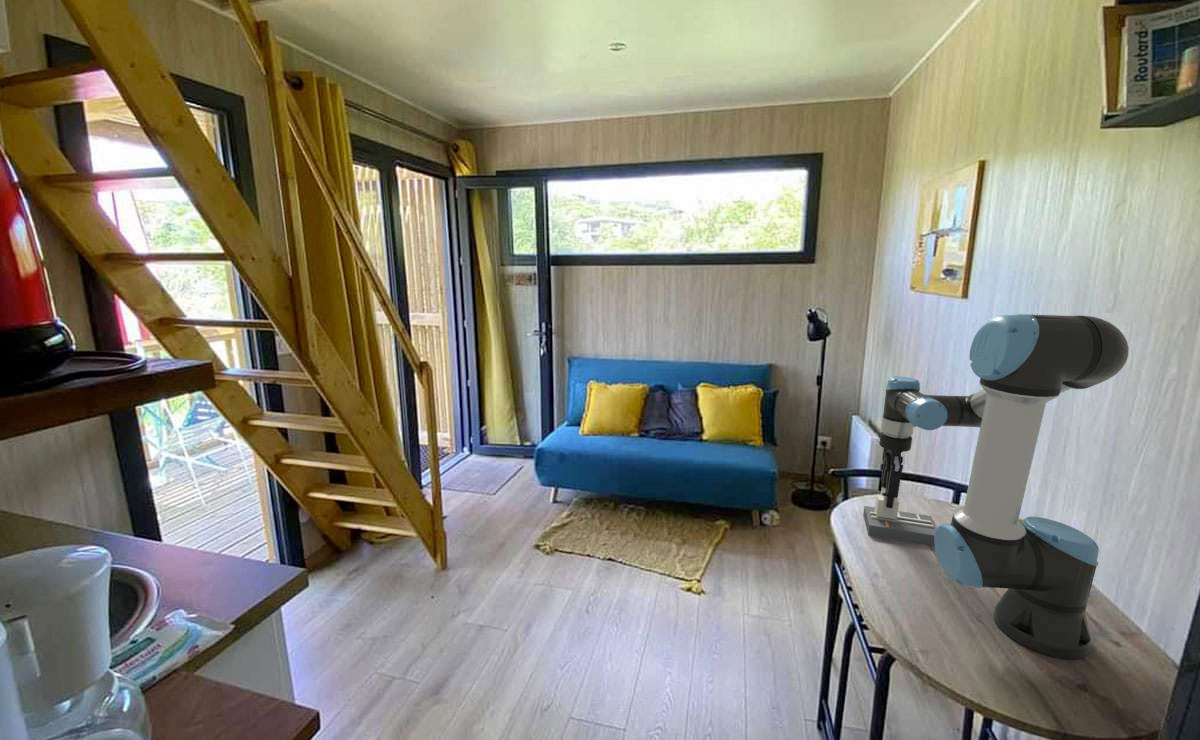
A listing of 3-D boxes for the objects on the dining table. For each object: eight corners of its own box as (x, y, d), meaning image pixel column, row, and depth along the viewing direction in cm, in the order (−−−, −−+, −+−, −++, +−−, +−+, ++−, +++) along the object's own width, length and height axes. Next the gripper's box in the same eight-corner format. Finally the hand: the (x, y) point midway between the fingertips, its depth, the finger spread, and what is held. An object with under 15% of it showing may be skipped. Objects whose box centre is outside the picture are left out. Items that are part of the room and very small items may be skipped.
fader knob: (896, 521, 145) (899, 502, 144) (876, 518, 147) (878, 499, 146) (894, 515, 149) (896, 497, 147) (874, 512, 150) (876, 494, 149)
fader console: (939, 547, 139) (941, 535, 138) (868, 535, 145) (869, 523, 144) (929, 525, 150) (931, 514, 149) (863, 515, 156) (864, 504, 155)
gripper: (918, 445, 134) (906, 530, 139) (906, 426, 149) (895, 502, 154) (885, 442, 136) (874, 525, 141) (876, 423, 152) (867, 498, 157)
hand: (885, 513), depth 148 cm, fingers closed on fader knob, 4 cm apart
